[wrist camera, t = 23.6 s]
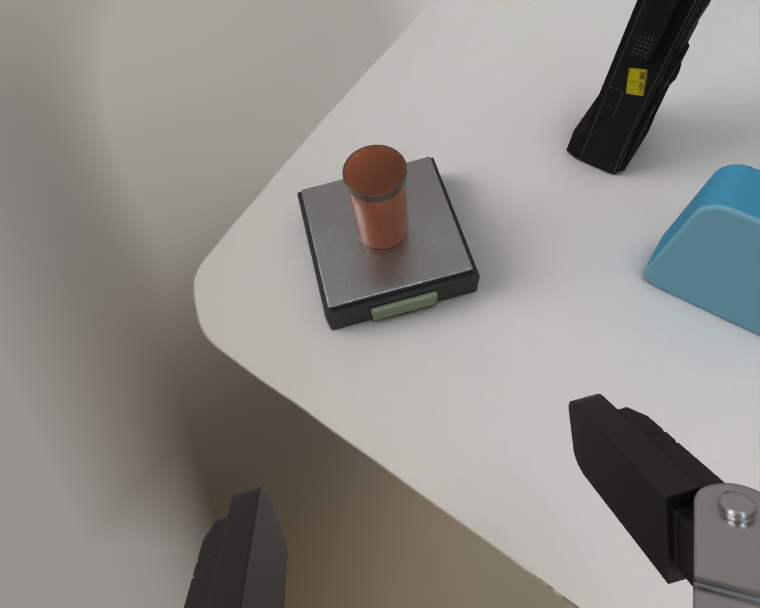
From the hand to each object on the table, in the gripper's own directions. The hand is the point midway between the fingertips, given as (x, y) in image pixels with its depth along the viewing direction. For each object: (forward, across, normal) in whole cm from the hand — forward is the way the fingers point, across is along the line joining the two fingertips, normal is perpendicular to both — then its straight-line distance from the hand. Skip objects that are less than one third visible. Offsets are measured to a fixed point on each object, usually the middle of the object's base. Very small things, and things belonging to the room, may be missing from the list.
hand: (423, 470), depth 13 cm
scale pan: (+35, -3, +1) cm, 35 cm away
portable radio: (+41, -28, 0) cm, 49 cm away
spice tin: (+34, -3, +1) cm, 34 cm away
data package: (+28, -30, +13) cm, 43 cm away
